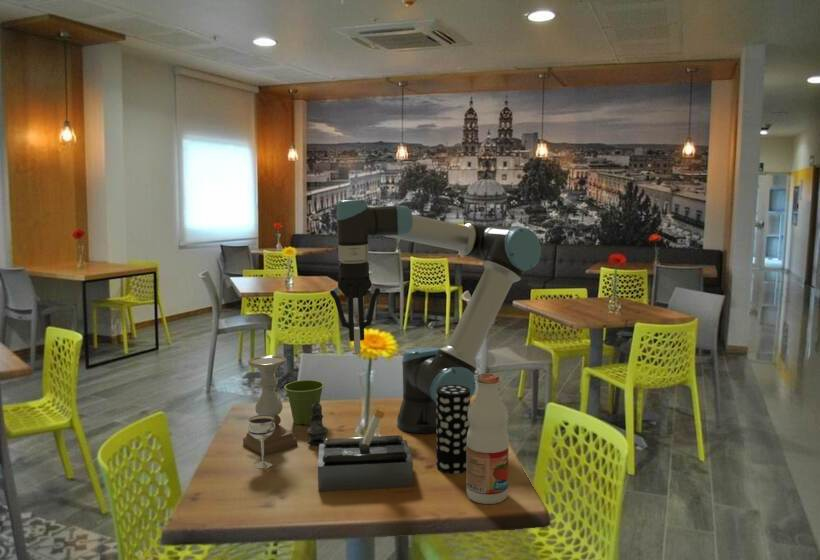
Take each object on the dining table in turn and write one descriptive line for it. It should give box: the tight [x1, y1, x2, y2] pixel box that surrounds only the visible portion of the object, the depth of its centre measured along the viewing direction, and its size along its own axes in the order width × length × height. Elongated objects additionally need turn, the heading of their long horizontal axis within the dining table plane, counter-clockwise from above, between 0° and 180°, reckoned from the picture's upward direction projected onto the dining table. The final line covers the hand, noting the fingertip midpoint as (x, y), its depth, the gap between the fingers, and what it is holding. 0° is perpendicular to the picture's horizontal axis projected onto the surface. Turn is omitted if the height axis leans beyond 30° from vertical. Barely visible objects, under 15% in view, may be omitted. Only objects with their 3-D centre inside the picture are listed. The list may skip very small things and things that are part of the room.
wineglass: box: [247, 414, 275, 470], centre depth 169 cm, size 7×7×12 cm
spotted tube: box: [435, 385, 471, 474], centre depth 166 cm, size 8×8×20 cm
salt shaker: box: [306, 400, 329, 447], centre depth 184 cm, size 6×6×12 cm
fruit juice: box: [465, 373, 510, 505], centre depth 150 cm, size 9×9×28 cm
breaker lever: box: [359, 404, 386, 454], centre depth 161 cm, size 2×4×11 cm, turn 7°
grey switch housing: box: [317, 435, 414, 492], centre depth 162 cm, size 22×14×8 cm, turn 96°
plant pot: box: [283, 379, 325, 426], centre depth 200 cm, size 12×12×11 cm
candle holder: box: [242, 355, 298, 456], centre depth 181 cm, size 11×11×24 cm
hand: (357, 352), depth 171 cm, fingers closed
